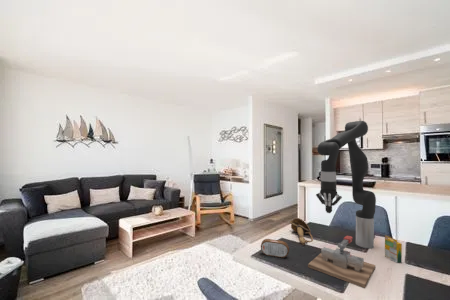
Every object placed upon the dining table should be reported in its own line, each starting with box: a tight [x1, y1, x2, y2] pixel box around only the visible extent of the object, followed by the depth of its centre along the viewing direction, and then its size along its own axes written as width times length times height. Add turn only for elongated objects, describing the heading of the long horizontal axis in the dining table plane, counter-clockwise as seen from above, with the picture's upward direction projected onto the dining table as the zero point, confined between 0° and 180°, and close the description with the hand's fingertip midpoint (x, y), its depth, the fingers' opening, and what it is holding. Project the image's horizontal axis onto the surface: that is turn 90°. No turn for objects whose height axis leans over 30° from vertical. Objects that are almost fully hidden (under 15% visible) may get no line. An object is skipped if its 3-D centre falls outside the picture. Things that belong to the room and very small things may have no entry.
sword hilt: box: [289, 217, 314, 246], centre depth 146 cm, size 10×24×15 cm
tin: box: [260, 238, 290, 259], centre depth 121 cm, size 15×3×8 cm, turn 71°
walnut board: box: [307, 252, 376, 289], centre depth 109 cm, size 22×24×2 cm
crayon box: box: [384, 235, 403, 264], centre depth 117 cm, size 7×3×12 cm, turn 11°
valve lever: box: [337, 235, 353, 252], centre depth 113 cm, size 15×3×4 cm, turn 137°
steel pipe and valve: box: [320, 246, 365, 272], centre depth 109 cm, size 6×18×6 cm, turn 47°
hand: (328, 212), depth 118 cm, fingers closed
